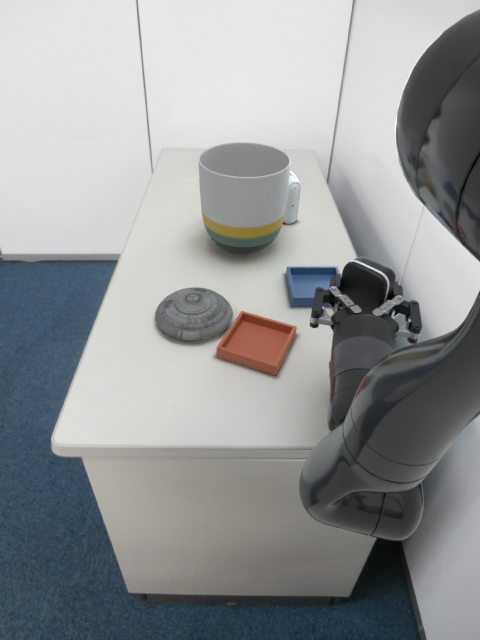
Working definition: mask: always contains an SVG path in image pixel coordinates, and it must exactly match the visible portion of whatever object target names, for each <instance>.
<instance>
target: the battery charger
mask: <svg viewBox="0 0 480 640" xmlns="http://www.w3.org/2000/svg"><path fill="white" fill-rule="evenodd" d="M396 279H397V278H396V274H395V271H394V270H393V269H392V268H390V267H388V266H387V265H384V264H382V263H380V262H378V261H376V260H374V259H371V258H369V257H367V256H357V257H355V258H353V259H352V260H349V261H348V262H346V263H345V265H344V266H343V268H342V273H341V282H340V291H341V293H342V294H346V295H347V296H348V297H349V298H350V299H351V300H352V301H353V302H360V303H363V304H374V305H378V307H380V306H381V305H382V304H384V303H385V302H386V301H388V300H391V297H392V293H393V289H394V285H395V281H397V280H396Z"/></svg>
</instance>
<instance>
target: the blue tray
mask: <svg viewBox="0 0 480 640" xmlns="http://www.w3.org/2000/svg"><path fill="white" fill-rule="evenodd" d="M285 270H286V271H285V277H286V282H287V288H288V292H289V298H290V303H291V307H293V308H294V307H295V308H298V307H299V308H300V307H301V308H303V307H307V308H309V307H310V308H312V306H313V300H314V295H315V290H316V288H317V287H322V288H324V290H327V289H329V285H330V279H331V277H332V276H336V273H339V274H341V273H340V270H339V266H337V265H336V266H335V265H332V266H331V265H330V266H329V265H326V266H325V265H324V266H322V265H321V266H320V265H319V266H317V265H316V266H313V265H312V266H311V265H310V266H304V265H303V266H302V265H301V266H286V269H285ZM322 307H330V306H329V305H328V304H327V303H322Z"/></svg>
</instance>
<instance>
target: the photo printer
mask: <svg viewBox="0 0 480 640" xmlns="http://www.w3.org/2000/svg"><path fill="white" fill-rule="evenodd" d="M301 188H302V186H301V183H300V180H299V178H298V177H297V175H296V174H295V173H294V172H293V171H292V170H290V175H289V185H288V194H287V202H286V209H285V215H284V220H283V223H284V224H287V225H289V224H290V225H291V224H294V223H296V222H297V220H298V215H299V206H300V199H301V198H300V196H301Z"/></svg>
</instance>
